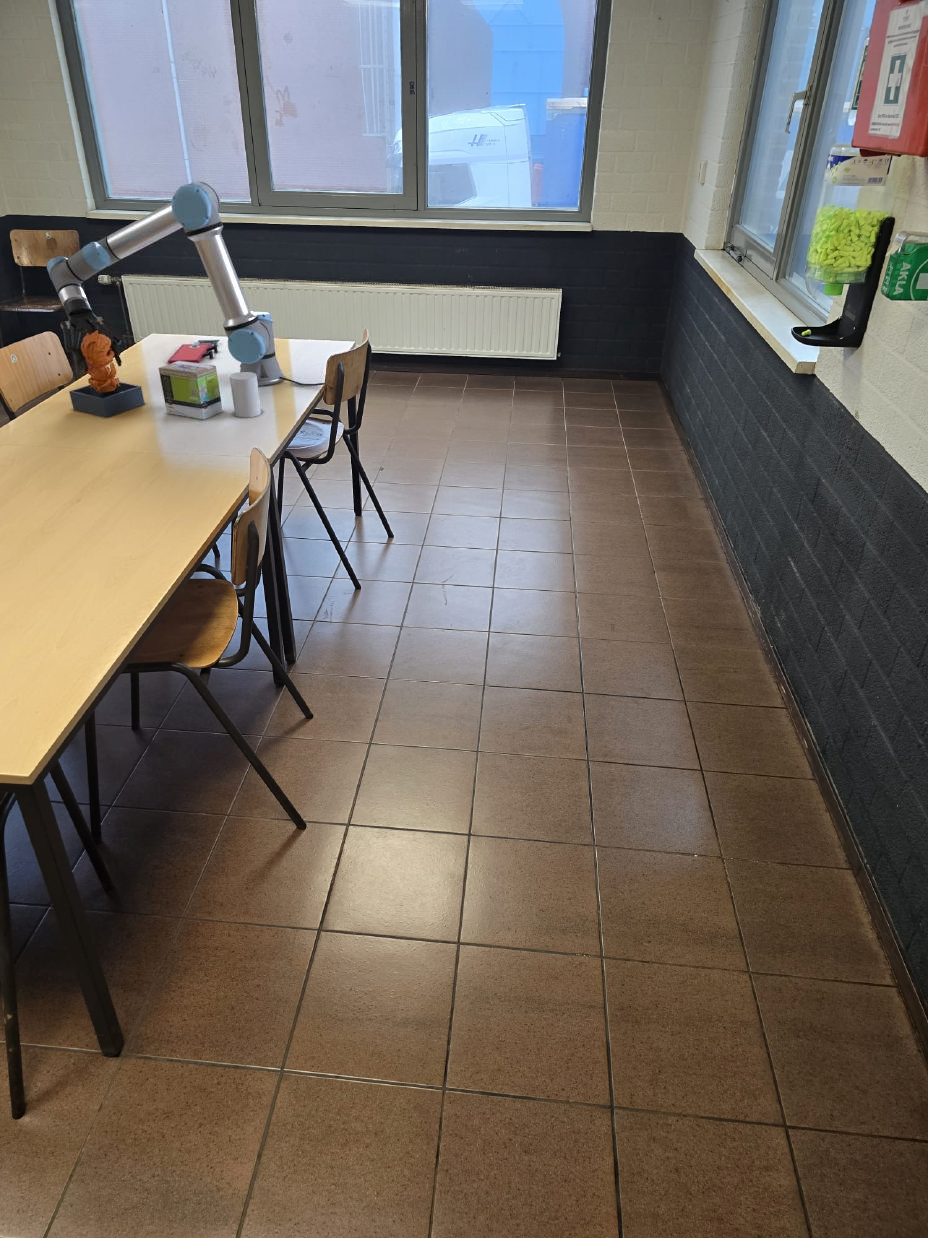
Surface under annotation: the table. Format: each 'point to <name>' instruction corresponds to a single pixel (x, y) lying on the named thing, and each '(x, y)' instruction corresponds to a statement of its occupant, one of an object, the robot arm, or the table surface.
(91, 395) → the crate
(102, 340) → the orange monster figurine
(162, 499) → the table surface
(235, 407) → the cup
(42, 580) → the table surface
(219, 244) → the robot arm
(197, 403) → the tea box
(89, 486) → the table surface
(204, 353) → the red board with handle
